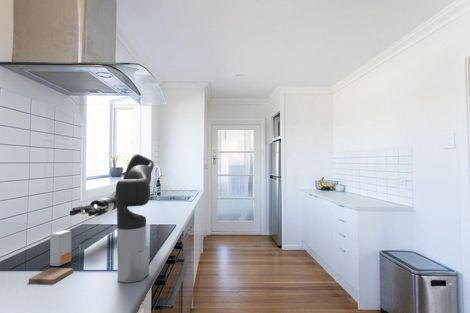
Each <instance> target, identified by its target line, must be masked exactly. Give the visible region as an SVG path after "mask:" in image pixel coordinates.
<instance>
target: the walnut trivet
mask: <svg viewBox="0 0 470 313" xmlns="http://www.w3.org/2000/svg"><path fill="white" fill-rule="evenodd" d="M73 272H74V268H70V267H68V268H67V267H66V268H65V267H49V268H47V269H45V270H43V271H41V272H39V273H37V274H35V275H33V276H31V277H29V278H28V283H35V284H37V283H39V284H40V283H41V284H46V283H47V284H55V283H57V282H59V281H60V280H62V279H63V278H66V277H67V276H69V275H70V274H72V273H73Z"/></svg>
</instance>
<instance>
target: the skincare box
mask: <svg viewBox="0 0 470 313" xmlns="http://www.w3.org/2000/svg"><path fill="white" fill-rule="evenodd" d="M49 237H50V240H49V241H50V242H49V248H50V249H49V250H50V251H49V252H50V253H49V254H50V255H49V257H50V258H49V266H51V267H52V266H53V267H54V266H56V267H60V266H63V265H64V264H67V263H69V262H71V261H72V230H64V229H62V230H59V231H56V232H54V233H51V234H50V236H49Z"/></svg>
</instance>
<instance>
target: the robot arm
mask: <svg viewBox="0 0 470 313" xmlns="http://www.w3.org/2000/svg"><path fill="white" fill-rule="evenodd" d="M154 165H155V164H154V161H153V160H151V159H150V158H147V157H145V156H143V155H141V154H138V153H136V154H133V156H132V157H131V159H130V160H129V163H128V165H127V167H126V170H125V173H124V176H123V178H122V179H119V180H118V181H117V182H116V186H115V192H113V193H112V194H110V196H107V197H102V198H98V199H95V200H93V201H91V203H90V204H88V205H84V206H83V205H79V206H76V207H72V209H71V210H70V211H69V216H76V215H80V214H81V215H87V214H88V217H92V216H96V217H99V216H102V215H104V214H107V213H110V212H111V211H113V210H116V221H117V224H116V226H117V227H116V228H117V229H116V231H117V232H116V239H117V240H116V242H117V244H116V246H117V247H116V248H117V250H116V251H117V280H118V282H120V283H135V282H142V281H143V280H145V278H147V276H148V275H149V274H150V247H149V246H147V218H146V217H145V216H144V215H142V214H138V213H136V212H133V211H132V210H130V209H129V208H128V207H130V208H131V207H141V206H142V207H143V206H145V205H147V204H148V203H149V201H150V197H151V181H152V173H153V169H154Z"/></svg>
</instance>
